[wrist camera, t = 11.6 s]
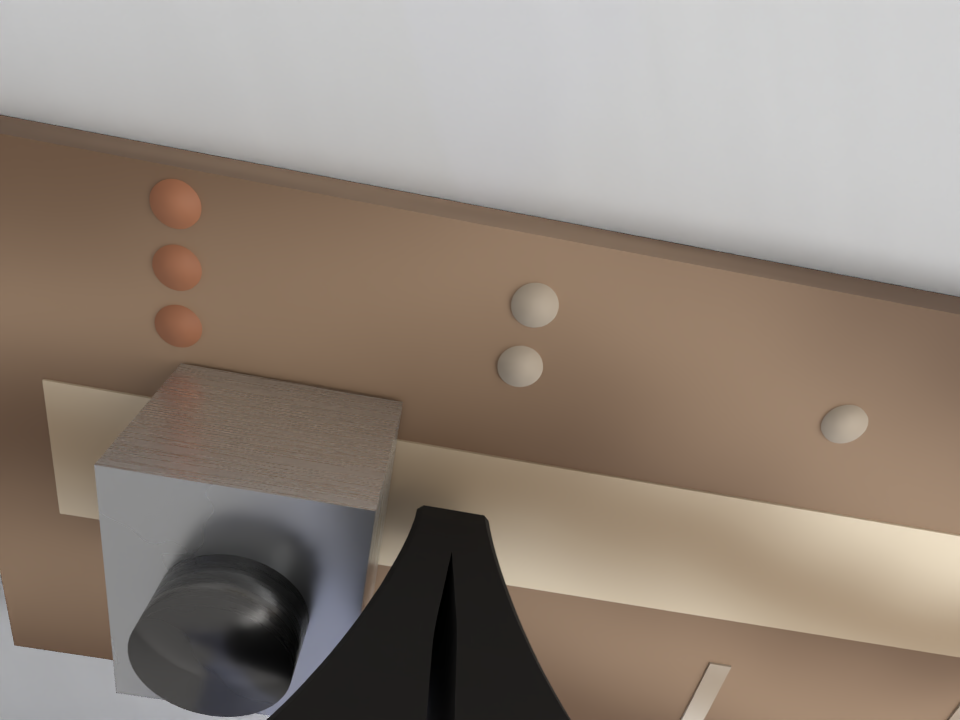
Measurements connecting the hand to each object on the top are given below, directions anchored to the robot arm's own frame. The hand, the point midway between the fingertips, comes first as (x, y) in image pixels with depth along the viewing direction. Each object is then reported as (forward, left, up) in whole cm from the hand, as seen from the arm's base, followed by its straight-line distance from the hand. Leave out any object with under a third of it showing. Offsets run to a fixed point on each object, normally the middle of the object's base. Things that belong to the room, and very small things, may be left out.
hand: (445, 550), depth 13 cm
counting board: (0, -4, -2) cm, 4 cm away
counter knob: (0, +3, -1) cm, 3 cm away
